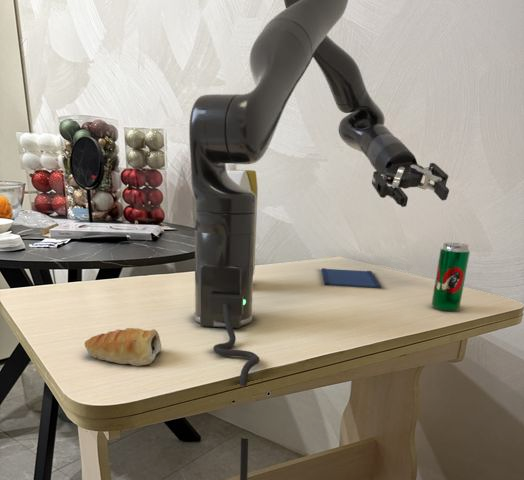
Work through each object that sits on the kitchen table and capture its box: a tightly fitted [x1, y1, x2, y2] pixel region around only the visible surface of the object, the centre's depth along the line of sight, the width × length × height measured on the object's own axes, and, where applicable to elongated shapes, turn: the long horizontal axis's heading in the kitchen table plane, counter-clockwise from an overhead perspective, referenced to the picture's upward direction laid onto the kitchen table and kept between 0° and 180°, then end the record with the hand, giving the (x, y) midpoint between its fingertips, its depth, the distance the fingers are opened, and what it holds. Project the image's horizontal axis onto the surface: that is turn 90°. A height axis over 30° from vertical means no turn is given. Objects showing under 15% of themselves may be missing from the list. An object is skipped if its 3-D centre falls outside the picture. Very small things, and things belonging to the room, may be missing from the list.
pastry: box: [84, 327, 162, 367], centre depth 67 cm, size 9×7×4 cm
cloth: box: [321, 267, 382, 289], centre depth 119 cm, size 16×12×1 cm
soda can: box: [431, 242, 471, 312], centre depth 96 cm, size 5×5×12 cm
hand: (425, 199), depth 100 cm, fingers open, 8 cm apart
